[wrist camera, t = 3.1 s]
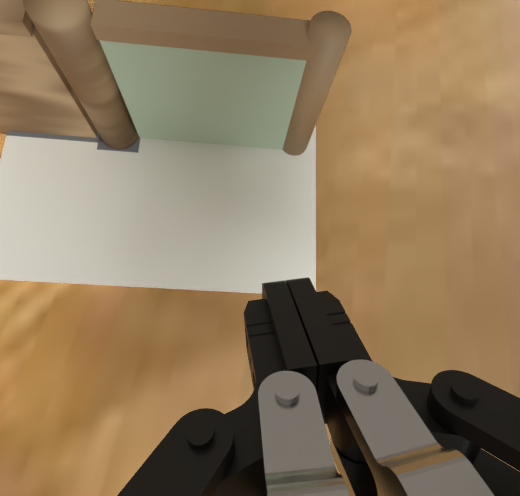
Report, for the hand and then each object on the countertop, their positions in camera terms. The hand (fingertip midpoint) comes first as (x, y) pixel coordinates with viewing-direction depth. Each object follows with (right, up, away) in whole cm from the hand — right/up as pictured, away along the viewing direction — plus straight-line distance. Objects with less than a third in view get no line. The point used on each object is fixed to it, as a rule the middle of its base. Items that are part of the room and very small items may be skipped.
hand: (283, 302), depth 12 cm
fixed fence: (-15, +9, +12) cm, 21 cm away
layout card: (-7, +8, +12) cm, 16 cm away
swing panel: (-3, +9, +12) cm, 15 cm away
